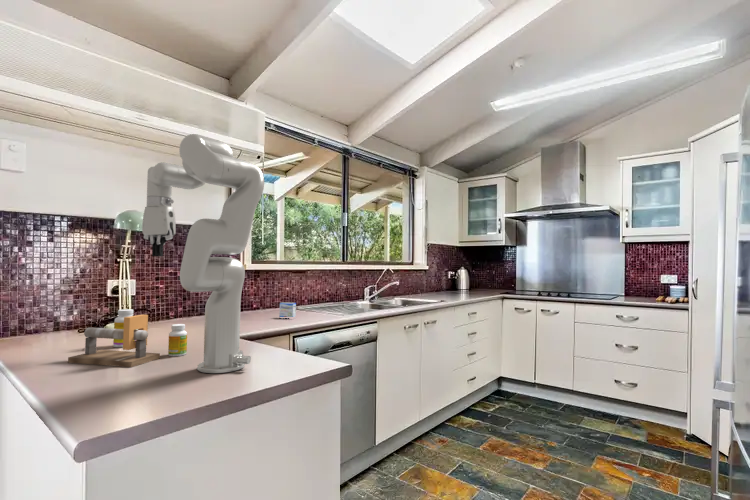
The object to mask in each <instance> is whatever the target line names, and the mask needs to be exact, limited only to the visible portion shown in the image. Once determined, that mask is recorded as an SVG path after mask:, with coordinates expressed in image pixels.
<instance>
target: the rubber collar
mask: <svg viewBox="0 0 750 500" xmlns="http://www.w3.org/2000/svg"><path fill="white" fill-rule="evenodd" d="M148 323H149V314H137V315H133V316H130V317H124V332H123V348H122V351H130V350H134V349H135V350H136V341H138V340H135V341H133V337H134V330H135V329H136V330H146V331H147V332H148V331H149V329H148V328H149V326H148V325H149V324H148ZM146 346H148V338H147V339H146Z"/></svg>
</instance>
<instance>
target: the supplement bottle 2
mask: <svg viewBox="0 0 750 500" xmlns="http://www.w3.org/2000/svg"><path fill="white" fill-rule="evenodd" d="M170 327H171V331H170V332H168V351H167V354H168V356H169V357H182V356H185V355H187V353H188V352H187V351H188V348H187V347H188V332H187V331H186V330H185V329H186V324H184V323H175V324H171V326H170Z"/></svg>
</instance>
